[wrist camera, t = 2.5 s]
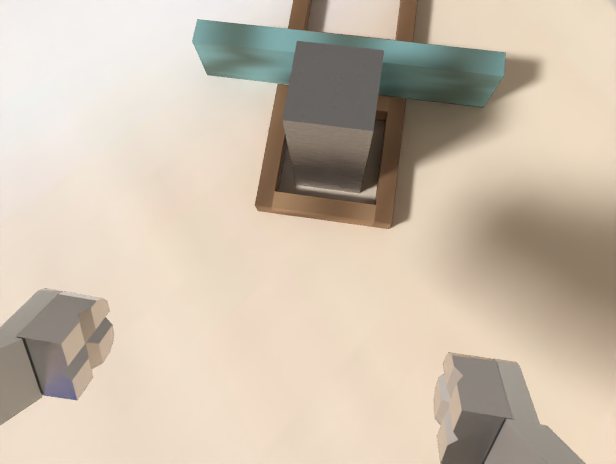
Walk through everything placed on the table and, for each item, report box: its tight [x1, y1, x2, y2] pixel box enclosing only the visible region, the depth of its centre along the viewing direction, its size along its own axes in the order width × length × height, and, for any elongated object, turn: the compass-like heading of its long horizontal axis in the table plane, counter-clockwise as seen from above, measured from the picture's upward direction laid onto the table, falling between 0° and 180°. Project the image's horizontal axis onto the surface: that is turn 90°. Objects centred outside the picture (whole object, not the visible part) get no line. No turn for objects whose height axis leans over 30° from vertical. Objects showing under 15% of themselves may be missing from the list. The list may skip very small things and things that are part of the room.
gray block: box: [283, 41, 384, 193], centre depth 24 cm, size 4×4×8 cm
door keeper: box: [192, 0, 506, 229], centre depth 28 cm, size 18×19×4 cm
